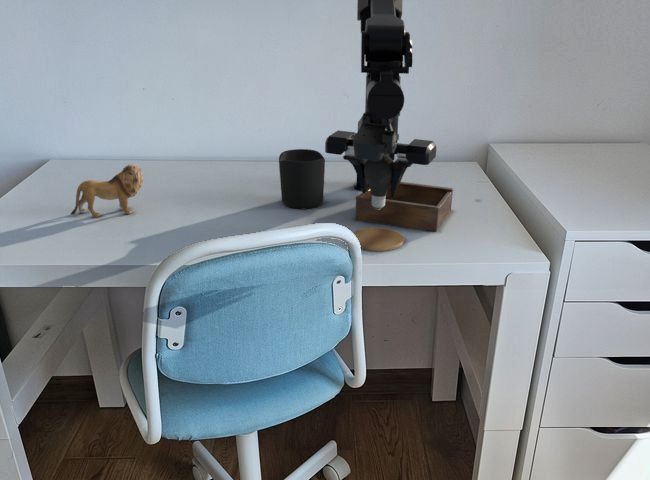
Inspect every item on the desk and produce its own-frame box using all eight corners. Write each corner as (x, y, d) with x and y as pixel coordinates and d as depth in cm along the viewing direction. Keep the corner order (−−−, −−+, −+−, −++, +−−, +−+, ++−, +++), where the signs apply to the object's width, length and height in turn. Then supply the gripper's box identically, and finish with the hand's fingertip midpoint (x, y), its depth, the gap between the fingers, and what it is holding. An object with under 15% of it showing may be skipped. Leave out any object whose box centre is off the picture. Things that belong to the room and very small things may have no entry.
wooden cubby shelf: (354, 220, 139) (355, 196, 137) (375, 200, 149) (375, 178, 147) (436, 232, 134) (438, 208, 132) (451, 210, 145) (453, 188, 142)
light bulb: (398, 206, 128) (401, 152, 123) (386, 216, 124) (389, 160, 119) (370, 201, 130) (372, 147, 125) (357, 210, 126) (359, 155, 121)
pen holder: (333, 200, 149) (333, 153, 144) (310, 213, 142) (309, 164, 137) (295, 192, 153) (294, 146, 147) (271, 205, 145) (269, 157, 140)
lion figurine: (144, 203, 145) (138, 160, 140) (149, 212, 140) (143, 167, 136) (69, 213, 139) (60, 168, 134) (72, 222, 135) (63, 176, 130)
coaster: (342, 246, 127) (342, 243, 127) (360, 227, 135) (360, 224, 135) (394, 254, 125) (394, 251, 124) (409, 235, 133) (409, 232, 132)
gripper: (312, 109, 114) (313, 202, 122) (423, 121, 108) (416, 217, 117) (336, 96, 123) (336, 183, 131) (440, 107, 117) (433, 196, 126)
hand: (378, 195), depth 126 cm, fingers closed on light bulb, 5 cm apart
